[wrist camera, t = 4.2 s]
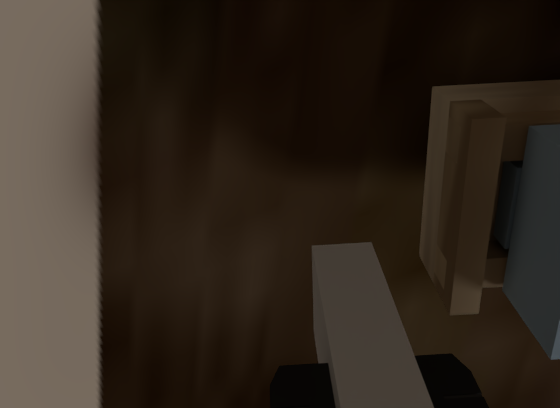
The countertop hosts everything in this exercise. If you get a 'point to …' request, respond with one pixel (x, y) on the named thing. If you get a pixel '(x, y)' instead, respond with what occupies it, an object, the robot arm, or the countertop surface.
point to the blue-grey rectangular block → (533, 234)
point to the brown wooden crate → (474, 180)
